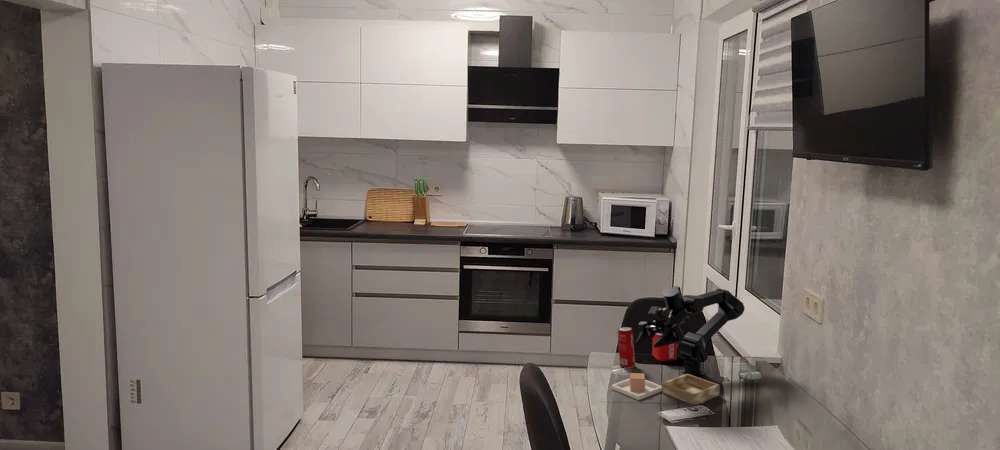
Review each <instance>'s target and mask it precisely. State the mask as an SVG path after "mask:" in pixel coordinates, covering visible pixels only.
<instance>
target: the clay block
mask: <svg viewBox="0 0 1000 450" xmlns="http://www.w3.org/2000/svg"><path fill="white" fill-rule="evenodd" d="M629 378H630V392H639V393H644V392H645V380H646V378H645V373H643V372H641V373H638V372H634V373H633V372H629Z"/></svg>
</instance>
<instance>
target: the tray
mask: <svg viewBox="0 0 1000 450" xmlns="http://www.w3.org/2000/svg"><path fill="white" fill-rule="evenodd" d="M610 389H611V390H613V391H615V392H617V393H620V394H622V395H625V396H627V397H630V398H632V399H635V400H637V401H640V400H643V399H645V398H647V397H651V396H653V395H655V394H658V393H661V385H660V384H658V383H655V382H653V381H649V380H647V379H645V392H644V393H639V392H630V377H629V378H627V379H624V380H620V381H618V382H616V383H614V384H611V387H610Z"/></svg>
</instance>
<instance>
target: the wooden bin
mask: <svg viewBox="0 0 1000 450" xmlns="http://www.w3.org/2000/svg"><path fill="white" fill-rule="evenodd" d="M720 386H721V385H720V383H719V384H718V383H716V382H712V381H709V380H707V379H704V378H701V377H695V376H693V375H690V374H682V375H680V376H676V377H674V378H672V379H669V380H666V381H663V382H662V383H661V392H660V393H661V394H664V395H666V396H669V397H671V398H674V399H676V400H679V401H681V402H684V403H686V404H690V405H692V406H696V405H698V404H701V405H703V404H704V403H707V402H709V401H711V400H713V399H712V398H714V397H716V398H718V397H720V388H721V387H720ZM717 396H718V397H717ZM710 399H711V400H710ZM714 399H715V398H714ZM708 400H709V401H708ZM706 401H707V402H706Z"/></svg>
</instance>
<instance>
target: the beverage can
mask: <svg viewBox="0 0 1000 450" xmlns="http://www.w3.org/2000/svg"><path fill="white" fill-rule="evenodd" d="M617 342H618V357H619V366H620V367H621V366H622V367H624V368H623V369H633V368H634V367H635V366H636V358H635V345H634V344H635V342H634V331H633V328H632V327H630V326H621V327H619V328H618V330H617ZM622 367H621V368H622Z"/></svg>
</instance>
